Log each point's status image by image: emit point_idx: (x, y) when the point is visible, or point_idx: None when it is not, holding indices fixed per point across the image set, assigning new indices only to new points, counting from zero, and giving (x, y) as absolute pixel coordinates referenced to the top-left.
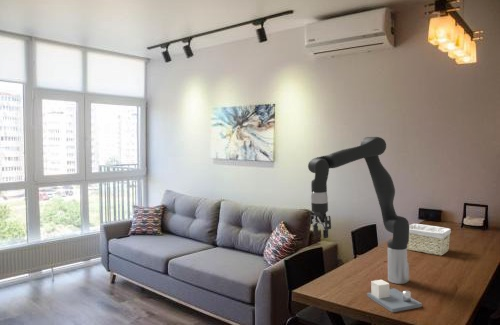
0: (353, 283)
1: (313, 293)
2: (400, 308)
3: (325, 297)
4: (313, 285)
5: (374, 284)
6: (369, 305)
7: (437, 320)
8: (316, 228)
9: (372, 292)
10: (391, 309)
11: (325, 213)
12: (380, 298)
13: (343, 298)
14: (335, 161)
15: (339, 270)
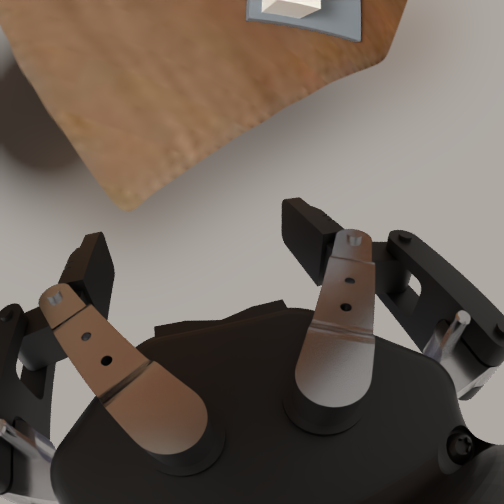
0: (130, 6)
1: (156, 167)
2: (359, 20)
3: (200, 142)
4: (92, 144)
5: (295, 4)
6: (303, 56)
7: (404, 8)
8: (97, 282)
9: (270, 11)
10: (357, 40)
11: (466, 432)
12: None
13: (230, 92)
14: None
15: (11, 23)
